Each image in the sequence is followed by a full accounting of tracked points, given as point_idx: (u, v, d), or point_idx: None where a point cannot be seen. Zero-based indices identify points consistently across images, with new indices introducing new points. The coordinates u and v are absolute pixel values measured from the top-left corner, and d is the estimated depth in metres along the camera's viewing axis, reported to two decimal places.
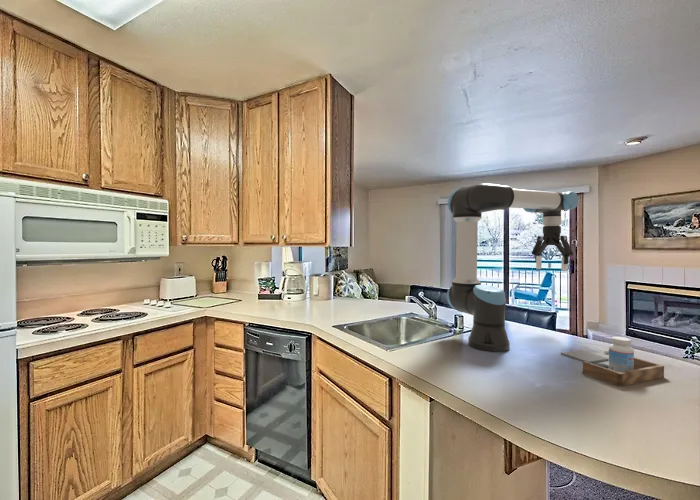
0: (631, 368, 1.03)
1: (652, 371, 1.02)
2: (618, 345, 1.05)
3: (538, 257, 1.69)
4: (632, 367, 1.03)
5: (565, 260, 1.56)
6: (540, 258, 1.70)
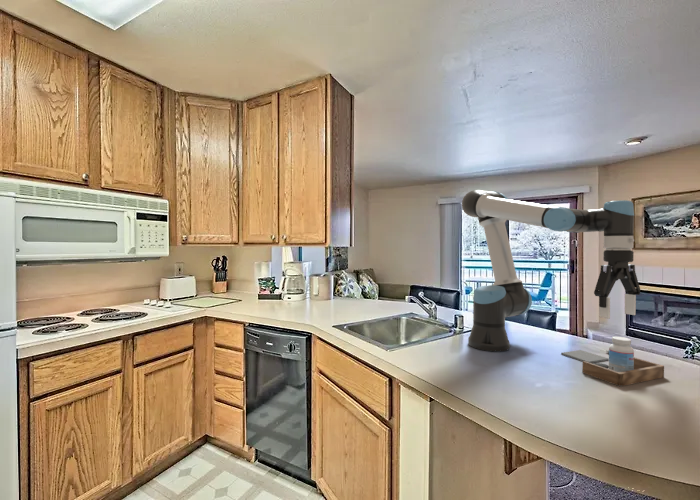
0: (631, 368, 1.03)
1: (652, 371, 1.02)
2: (618, 345, 1.05)
3: (626, 296, 1.12)
4: (632, 367, 1.03)
5: None
6: (631, 298, 1.11)
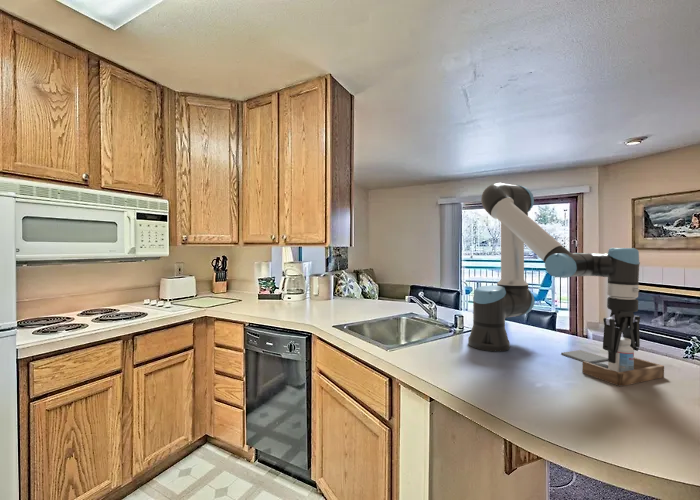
0: (631, 368, 1.03)
1: (652, 371, 1.02)
2: None
3: None
4: (632, 367, 1.03)
5: None
6: None
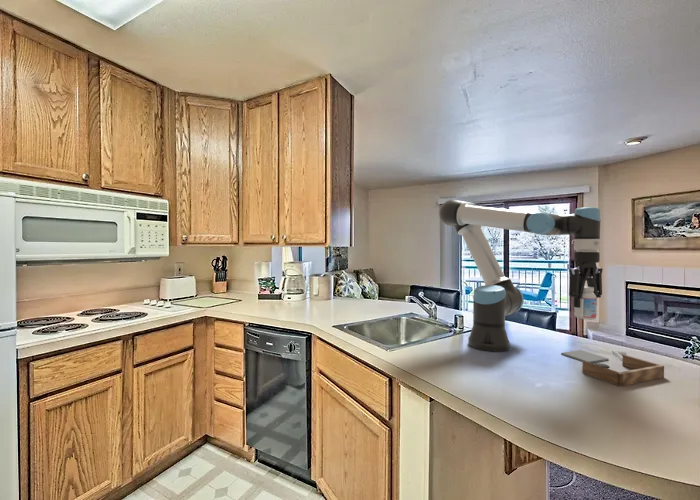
0: (593, 311, 1.19)
1: (652, 371, 1.02)
2: (583, 292, 1.20)
3: None
4: (594, 311, 1.19)
5: None
6: None
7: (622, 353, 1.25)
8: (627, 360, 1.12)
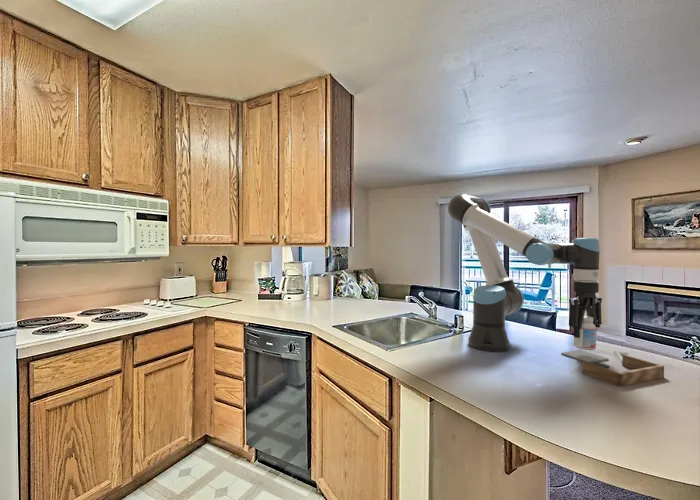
0: (593, 342, 1.19)
1: (652, 371, 1.02)
2: (582, 322, 1.20)
3: None
4: (594, 341, 1.19)
5: None
6: None
7: (624, 353, 1.24)
8: (627, 360, 1.12)
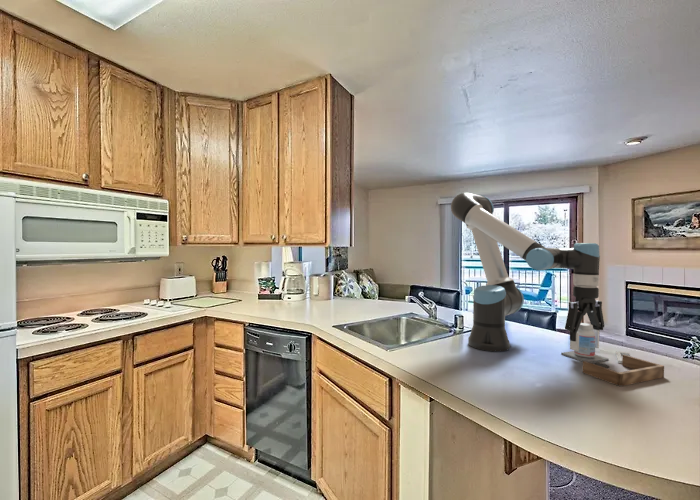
0: (592, 349, 1.19)
1: (652, 371, 1.02)
2: (582, 330, 1.21)
3: None
4: (593, 349, 1.19)
5: None
6: (595, 333, 1.23)
7: (625, 354, 1.24)
8: (627, 360, 1.12)
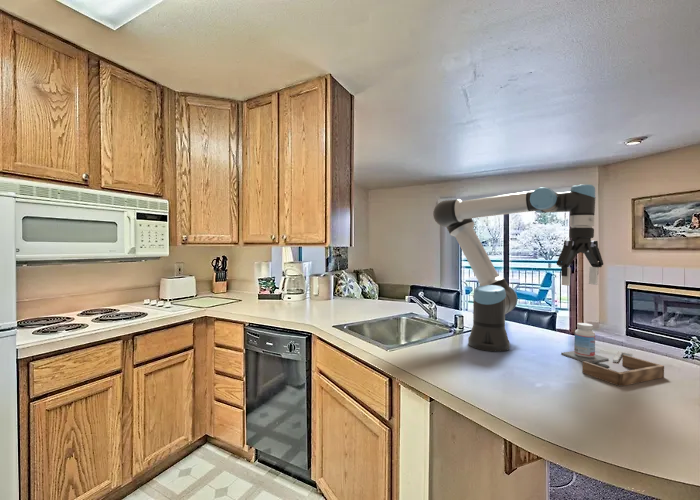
0: (592, 349, 1.19)
1: (652, 371, 1.02)
2: (582, 330, 1.21)
3: (590, 268, 1.29)
4: (593, 349, 1.19)
5: None
6: (594, 270, 1.27)
7: (627, 354, 1.23)
8: (627, 360, 1.12)
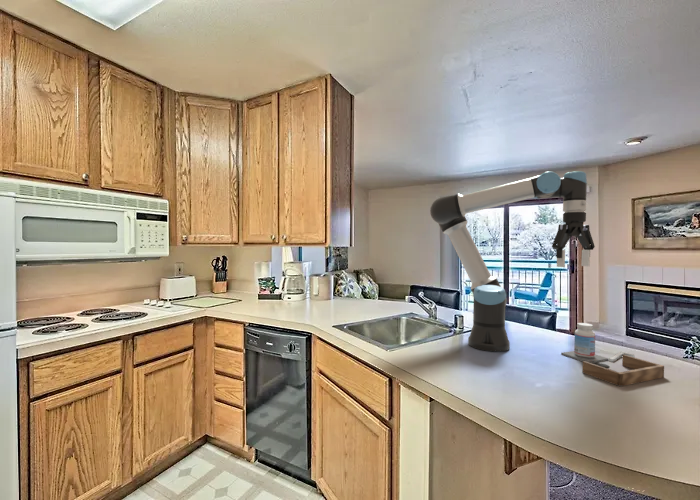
0: (592, 349, 1.19)
1: (652, 371, 1.02)
2: (582, 330, 1.21)
3: (583, 251, 1.36)
4: (593, 349, 1.19)
5: None
6: (586, 253, 1.35)
7: (629, 355, 1.23)
8: (627, 360, 1.12)
